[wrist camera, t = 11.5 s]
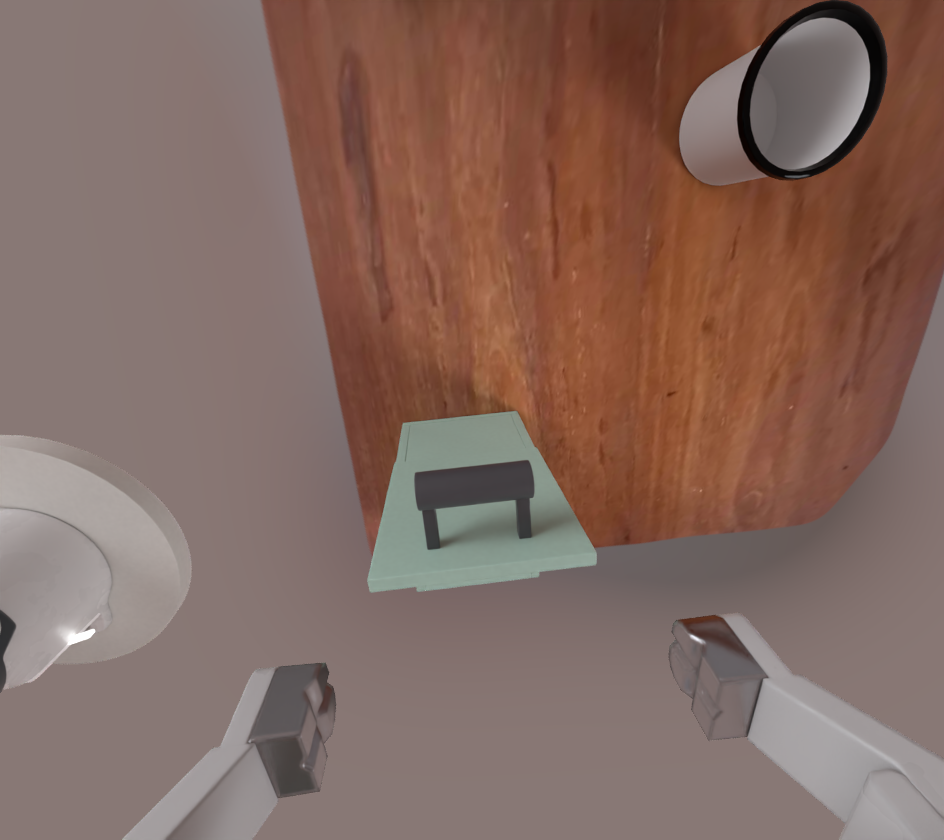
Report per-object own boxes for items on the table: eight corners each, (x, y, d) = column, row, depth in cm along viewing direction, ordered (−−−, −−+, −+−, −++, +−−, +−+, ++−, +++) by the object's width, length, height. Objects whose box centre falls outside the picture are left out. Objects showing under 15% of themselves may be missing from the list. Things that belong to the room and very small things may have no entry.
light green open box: (522, 521, 49) (539, 577, 41) (419, 533, 49) (416, 592, 41) (517, 410, 44) (535, 448, 36) (402, 422, 43) (395, 464, 35)
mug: (687, 213, 38) (758, 206, 30) (656, 96, 35) (727, 49, 26) (820, 144, 37) (934, 116, 28) (803, 14, 33) (926, -61, 25)
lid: (597, 565, 22) (597, 473, 20) (369, 593, 22) (351, 501, 20) (537, 455, 35) (534, 394, 34) (395, 471, 35) (385, 410, 33)
